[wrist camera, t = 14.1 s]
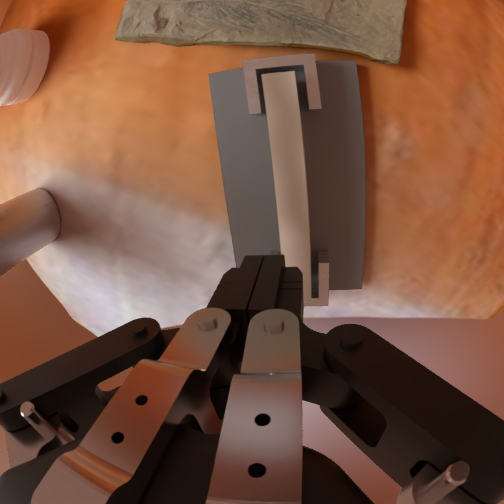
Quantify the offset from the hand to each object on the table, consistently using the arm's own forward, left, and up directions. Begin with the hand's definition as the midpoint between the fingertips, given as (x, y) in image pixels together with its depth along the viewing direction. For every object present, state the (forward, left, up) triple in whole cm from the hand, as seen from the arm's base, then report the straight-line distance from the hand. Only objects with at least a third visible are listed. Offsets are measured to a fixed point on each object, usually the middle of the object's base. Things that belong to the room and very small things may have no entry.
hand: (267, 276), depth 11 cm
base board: (0, 0, -19) cm, 19 cm away
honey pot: (-38, +26, -19) cm, 50 cm away
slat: (0, 0, -17) cm, 17 cm away
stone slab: (-1, +20, -20) cm, 28 cm away
